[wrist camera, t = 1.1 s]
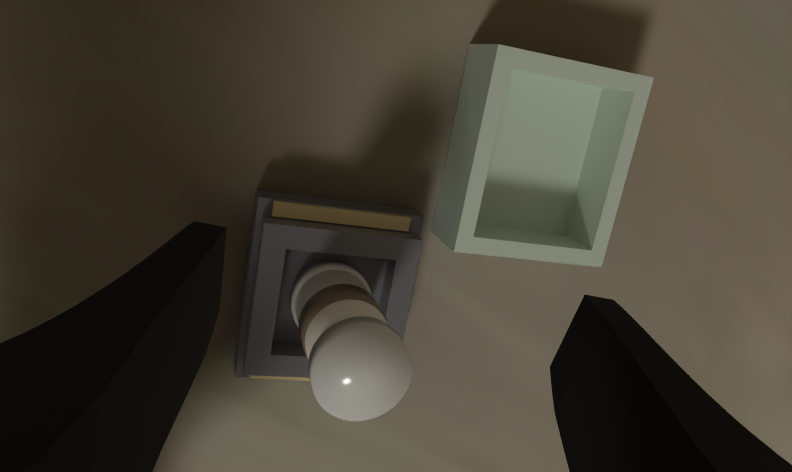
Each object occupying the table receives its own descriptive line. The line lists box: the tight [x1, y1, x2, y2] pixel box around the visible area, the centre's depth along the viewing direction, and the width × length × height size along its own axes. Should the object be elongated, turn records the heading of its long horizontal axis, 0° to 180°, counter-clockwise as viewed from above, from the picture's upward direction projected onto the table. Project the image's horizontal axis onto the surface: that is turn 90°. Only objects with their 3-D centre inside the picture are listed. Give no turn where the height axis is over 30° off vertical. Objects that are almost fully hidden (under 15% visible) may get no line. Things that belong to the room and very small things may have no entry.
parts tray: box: [432, 44, 654, 267], centre depth 23 cm, size 7×6×2 cm
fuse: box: [290, 259, 412, 421], centre depth 20 cm, size 3×3×6 cm
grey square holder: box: [234, 189, 423, 381], centre depth 23 cm, size 7×6×2 cm
